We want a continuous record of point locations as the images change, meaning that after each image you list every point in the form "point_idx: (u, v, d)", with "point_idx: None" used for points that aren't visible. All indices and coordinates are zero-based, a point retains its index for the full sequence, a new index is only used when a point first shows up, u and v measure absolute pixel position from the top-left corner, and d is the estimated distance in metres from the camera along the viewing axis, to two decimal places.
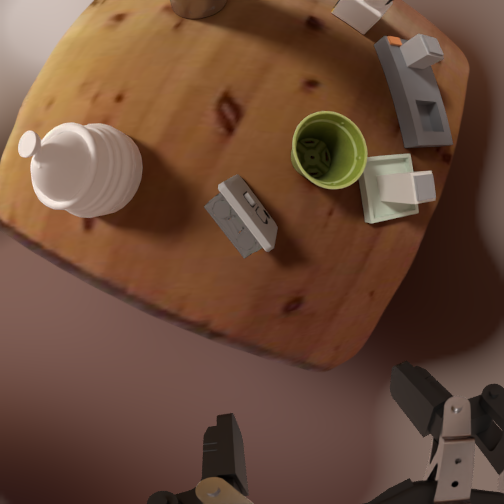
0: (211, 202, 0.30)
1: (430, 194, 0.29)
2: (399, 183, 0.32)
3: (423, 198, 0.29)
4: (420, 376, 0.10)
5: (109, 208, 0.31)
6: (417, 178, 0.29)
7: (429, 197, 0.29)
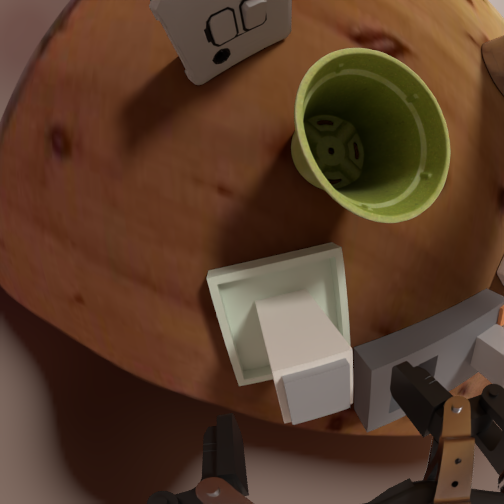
0: None
1: (301, 410, 0.12)
2: (311, 328, 0.15)
3: (291, 392, 0.12)
4: (420, 376, 0.10)
5: None
6: (342, 369, 0.12)
7: (293, 409, 0.12)
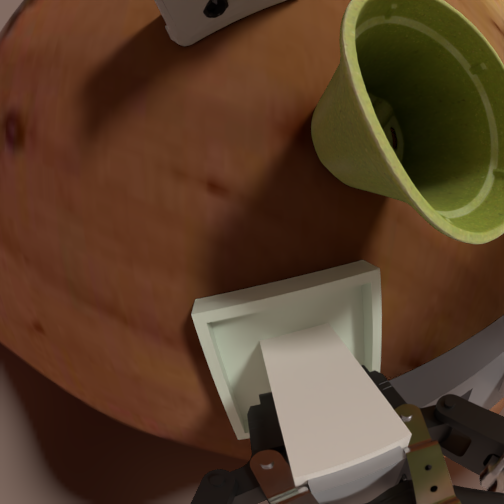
0: None
1: None
2: (347, 396, 0.09)
3: (320, 499, 0.06)
4: (374, 381, 0.10)
5: None
6: (397, 464, 0.06)
7: None
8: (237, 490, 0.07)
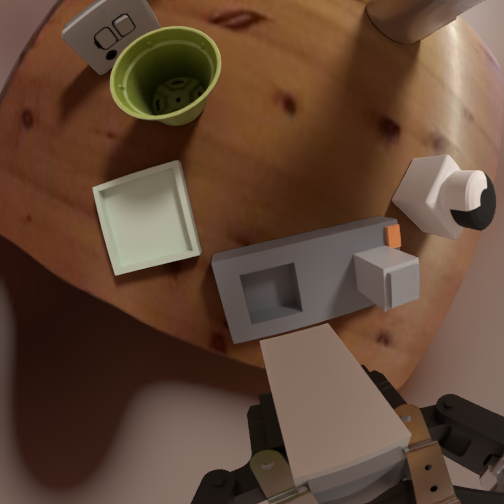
0: None
1: None
2: (347, 396, 0.09)
3: (319, 499, 0.06)
4: (374, 381, 0.10)
5: None
6: (396, 464, 0.06)
7: None
8: (237, 490, 0.07)
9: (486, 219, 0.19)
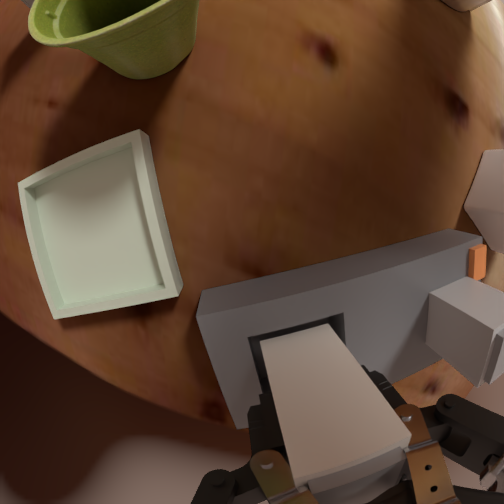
0: None
1: None
2: (347, 397, 0.09)
3: (320, 499, 0.06)
4: (374, 381, 0.10)
5: None
6: (396, 464, 0.06)
7: None
8: (237, 490, 0.07)
9: None
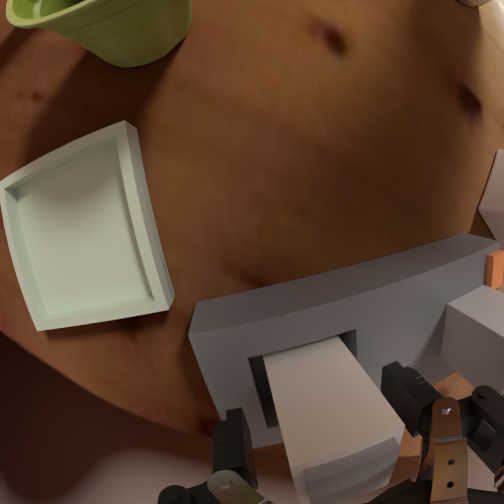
0: None
1: (326, 500, 0.06)
2: (342, 389, 0.09)
3: (316, 488, 0.06)
4: (409, 376, 0.10)
5: None
6: (390, 454, 0.06)
7: (316, 500, 0.06)
8: (195, 503, 0.06)
9: None
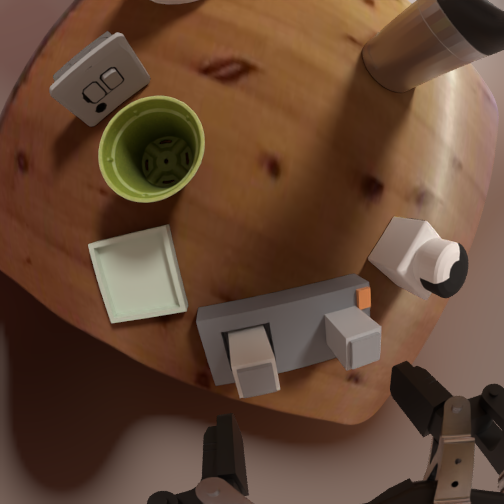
0: (109, 34, 0.18)
1: (247, 389, 0.23)
2: (256, 345, 0.26)
3: (241, 378, 0.23)
4: (420, 376, 0.10)
5: None
6: (268, 368, 0.23)
7: (243, 388, 0.23)
8: None
9: (454, 288, 0.23)
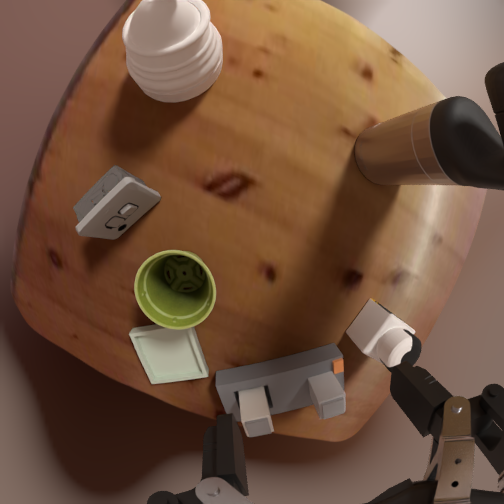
0: (117, 171, 0.27)
1: (252, 432, 0.33)
2: (258, 403, 0.36)
3: (247, 427, 0.32)
4: (420, 376, 0.10)
5: (130, 74, 0.27)
6: (265, 421, 0.32)
7: (249, 432, 0.33)
8: None
9: None
